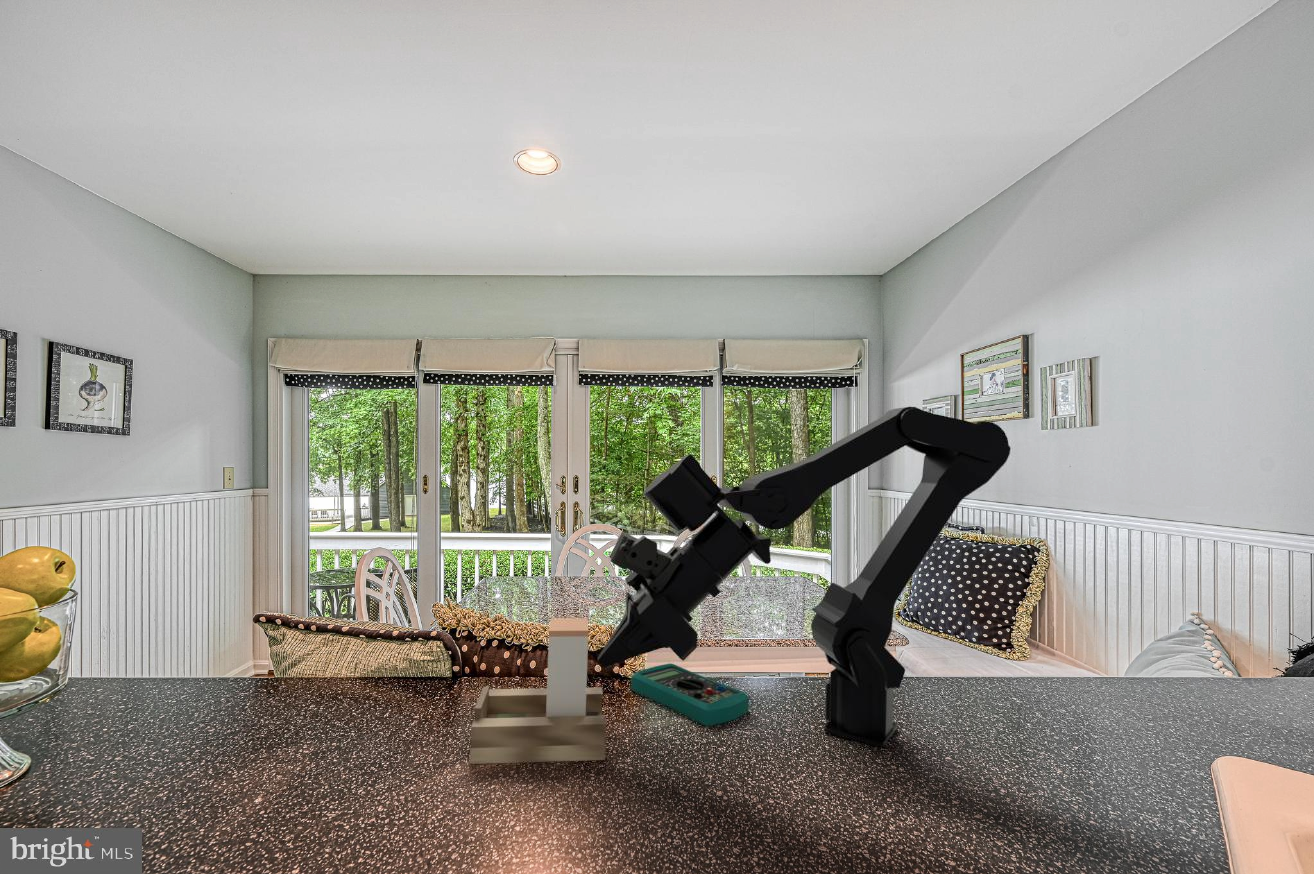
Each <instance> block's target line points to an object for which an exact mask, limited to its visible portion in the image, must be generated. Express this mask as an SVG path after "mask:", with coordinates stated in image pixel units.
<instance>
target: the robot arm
mask: <svg viewBox="0 0 1314 874" xmlns="http://www.w3.org/2000/svg"><path fill="white" fill-rule="evenodd" d="M904 447H907V448H909V449H911V450H912V451H915V452H916V453H920V454H923V455H924V458H923V464H922V465H923V466H922V474H921V475H922V477H921V479H920V482H919V484H918V486H917V487H916V488H915V489H914V492H913V493H912V495H911V496H910V498H909V499H908V500H907V502H906V503H905V505H904V506H903V508H902V509H901V511H900V513H899V514H898V515H897V517H896V519H895V520H894V522H893V524H892V525H891V526H890V527H889V530H888V531H887V533H886V534H885V535H884V537H883V539H882V540H881V541H880V543H879V544H878V546H877V547H876V549H875V551H874V552H873V554H872V555H871V557H870V558H869V560H868V561H867V562H866V564H865V565H864V567H863V569H862V571H860V573H859V575H858V576H857V577H856V579H854V580H853V581H852V582H850V583H849V584H848V585H846V586H844V587H843V586H841V585H839V584H838V583H835V582H831V584H829V586H828V587H827V590H826V591H825V594H824V596H823V598H822V599H821V601H820V602H819V603H818V604H817V605H816V606H814V607H813V608H812V612H813V613H815V615H814V616H813V619H812V621H811V625H810V629H811V633H812V634H811V635H812V639H813V640H814V643H815V644H816V646H817V647H818V648H819V649H820V650H821V651H823V652H824V655H825V658H826V661H827V664H829V665H832V666H833V667H834V668H833V670H831V671H830V674H829V675H830V679H829V682H827V683H826V684H825V697H824V699H825V700H824V701H825V706H824V707H825V708H824V709H825V711H824V712H825V713H824V718H825V721H827V723H826V724H825V725H823V731H824V732H826V733H828V734H831V735H835V736H839V737H842V738H847V739H849V740H854V741H856V742H857V741H858V742H861V743H865V744H869V745H872V746H876V747H880V748H881V747H885V746H886V744H887V743H888V741H889V740H890V739H891V737H892V736H893V734H894V733H895V732H896V731H897V730H898V723H896V722H894V689H899V688H900V687H901V684H902V681H903V678H904V676H905V673H906V669H905V667H904V666H903V665H902V664H901V663H900V661H899V660H897V659H896V657H894V656H893V654H891V652H890V651H889V650H888V649H887V648H886V645H887V643H888V640H889V638H890V636H891V634H892V629H893V622H894V613H895V612H894V611H895V605H896V602H897V600H898V599H899V598H900V596H901V594H902V593H903V591H904V590H905V589H906V586H907V585H908V583H909V582H910V581H911V579H912V577H913V575H914V574H915V573H916V571H917V570H918V569H919V566H920V565H921V563H922V562H923V561H924V559H925V557H926V555H927V554H928V553H929V551H930V549H931V548H932V546H933V545H934V543H935V542H936V541H937V538H939V536H940V534H941V532H943V529H944V527H946V525H947V523H948V522H949V520H950V519H951V518H952V515H953V514H954V513H955V511H956V510H957V507H958V506H959V504H960V503H961V502H962V501H963V500H964V499H965V498H967V496H969V495H970V494H972V493H974V492H975V491H977V490H978V489H980V488H981V487H983V486H984V485H986V484H987V483H988V482H990V480H991V479H992V478H993V477H995V475H996V474H997V473H998V471H1000V470H1001V468H1002V467H1004V466H1005V464H1006V463H1007V461H1008V459H1009V457H1010V454H1011V449H1012V448H1011V446H1010V445H1009V438H1008V437H1007V435H1006V433H1005V431H1004V430H1003V429H1002V428H1001V427H1000V425H998V424H996V423H994V422H993V421H988V420H987V421H986V420H983V421H982V420H981V421H968V420H964V419H959V418H955V417H952V416H951V417H950V416H946V415H941V414H936V413H933V412H929V411H926V410H923V409H921V408H918V407H916V406H906V407H905V406H904V407H899V408H893V409H890V410H888V411H886V412H885V413H884V414H883V415H882V416H881V417H879V418H877V419H876V420H873V421H872V422H870V423H868V424H867V425H864V426H862V427H861V428H859V429H858V430H855V431H854V432H852V433H850V434H848V435H847V436H845V437H842V438H841V439H840V440H838V441H836V442H834V443H832V444H830V445H829V446H827V447H825V448H822V449H821V450H819V451H818V452H816V453H814V454H812V455H810V456H808V457H807V458H805V459H802V460H800V461H797V462H794V463H790V464H787V465H784V466H780V467H775V468H773V469H769V470H767V471H764V472H761V473H758V474H755V475H751V476H750V477H748V478H746V479H745V480H743V482H742V483H741V484H740V485H738V486H725V485H723V486H721V487H720V486H719V485H717V483H716V482H715V481H714V480H713V479H712V478H711V477H710V476H709V475H708V473H706V471H705V470H704V469H703V468H702V466H701V464H700V463H699V461H698V460H697V459H696V458H695V457H694V455H692V454H685V455H684V456H683V457H682V458H681V459H680V460H678V461H676V463H674V464H672V466H670V467H669V468H667V470H665V471H662V472H660V473H659V475H657V476H656V477H655V478H654V479H653V481H651V482H650V484H649V485H648V486H646V488H645V489H644V491H643V493H642V495H643V496H644V497H645V498H646V499H647V500H648V501H649V503H650V504H652V505H653V506H654V507H655V508H656V510H658V512H659V513H660V515H662V517H663V518H664V519H666V521H668V523H669V524H670V525H671V526H672V527H673V528H674V529H675V531H677V532H679V531H682V530H684V529H685V528H686V529H687V530H688V531H689V532H690V533H691V532H695V531H696V530H697V529H699V528H700V527H702V526H703V525H704V526H703V527H702V528H701V529H700V530H699V531H698V532H696V533H695V534H694V535H693V537H691V538H690V539H689V540H688V541H687V542H686V543H685V544H684V545H683V546H682V547H681V548H680V547H679V546H673V547H671V548H670V549H668V550H669V551H667V552H664V551H662V550H660V549H658V543H657V542H656V541H655V540H651V539H650V538H648V537H647V536H646V535H641V536H640V537H639V538H637V537H635V536H633V535H631V534H629V533H627V532H624V531H621V533H620V535H619V537H618V539H617V541H616V543H615V544H614V547H613V548H612V551H611V553H610V554H609V558H610V562H611V563H612V564H613V565H615V566H617V567H619V568H621V569H627V570H629V571H631V572H630V573H629V574H628V576H626V577H625V578H624V580H625V583H626V584H627V585H628V586H629V587H632V589H634V591H635V592H636V593H634V594H633V595H631V594H630V593H629V592H628V591H625V613H624V615H623V617H622V619H621V621H620V622H619V624H618V626H617V627H616V629H615V630H614V631H613V633H612V635H611V636H610V638H609V639H608V640H607V642H606V644H605V646H604V648H603V649H602V651H601V652H600V653H599V655H598V657H597V663H598V664H599V665H600V666H601V667H602V668H608V667H610V666H614V665H617V664H618V663H621V662H624V661H627V660H630V659H632V658H635V657H639V656H641V655H645V654H647V653H650V652H654V651H656V650H657V651H658V650H660V649H664V648H665V649H668V648H670V650H671V651H673V653H674V654H675V655H676V656H677V657H678V658H679V659H680V660H681V661H682V662H684V661H686V659H687V658H688V657H689V656H690V655H691V654H692V653H693V652H694V651H696V649H697V648H698V632H697V631H696V629H695V627H694V626H693V625H692V624H691V621H692V620H694V618H693V617H692V615H691V613H693V612H694V611H695V610H696V609H697V608H698V607H699V605H701V604H702V603H703V602H704V601H705V600H706V599H707V598H708V597H709V596H710V595H711V597H712V598H716V597H717V596H718V595H719V594H720V593H721V592H722V591H721V590H720V589H719V588H718V587H719V586H720V585H721V584H722V583H723V582H724V581H725V580H726V579H727V578H728V577H729V576H730V575H731V574H732V573H733V572H734V571H735V570H736V569H737V568H738V567H739V566H740V565H742V563H743V562H744V561H746V559H747V558H749V556H750V555H751V554H752V556H754V558H756V559H757V560H758V561H760V562H762V563H764V564H766V565H769V564H770V563H771V561H772V560H771V559H772V558H771V543H772V540H771V538H768V537H767V536H759V535H757V533H755V531H753V529H752V528H751V527H750V526H749V524H747V522H745V520H747V521H748V522H749V523H751V524H754V525H757V526H760V527H763V528H765V529H769V530H774V531H775V530H782V529H784V528H788V527H789V526H790V525H793V523H794V522H796V520H798V519H800V517H801V516H803V515H804V514H805V513H806V512H807V511H809V510H810V509H812V507H813V505H815V503H816V502H817V501H818V500H819V498H820V497H821V496H822V495H823V494H825V492H827V491H828V490H829V489H831V488H832V487H834V486H836V485H838V484H840V483H841V482H843V481H845V480H847V479H849V478H850V477H852V476H854V475H856V474H857V473H859V472H861V471H862V470H864V469H866V468H868V467H870V466H871V465H873V464H875V463H877V462H878V461H880V460H882V459H884V458H886V457H888V456H889V455H891V454H893V453H895V452H897V451H898V450H900V449H902V448H904ZM720 506H721V507H724V508H727V509H729V510H733V511H736V512H739V513H740V514H741V516H742V517H743V518H744V519H745V520H744V519H742V518H739V519H736V520H732V519H731V518H730V517H729V515H728V514H727V513H725V511H724V510H723V509H722V508H721V507H720ZM713 514H715V515H714V516H713ZM712 516H713V517H712ZM711 517H712V518H711ZM710 518H711V519H710ZM709 519H710V520H709Z"/></svg>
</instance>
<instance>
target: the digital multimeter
mask: <svg viewBox="0 0 1314 874" xmlns="http://www.w3.org/2000/svg"><path fill="white" fill-rule="evenodd" d="M630 678H631V679H630V690H631V691H632V692H634V693H637V694H638V695H641V696H643V697H645V698H647V699H650V700H653V701H655V702H657V703H659V704H661V705H663V706H665V707H667V708H670V709H671V710H674V711H675V712H677V713H679V714H681V715H684V716H686V717H688V718H689V719H691V720H693V721H695V722H697V723H699V724H701V725H703V726H704V727H705V726H706V727H711V726H717V725H721V724H725V723H728V722H731V721H734V720H737V719H738V718H740V717H742V716H744V715H745V714H747V713H748V712H749V708H750V706H749V705H750V704H749V703H750V700H749V699H750V697H749V695H748V694H746V692H744V691H743V690H740V689H736V688H734V687H731V686H728V685H726V684H723V683H721V682H718V681H716V680H712V679H709V678H708V677H705V676H702V675H701V674H698V673H695V672H694V671H690V670H688V669H686V668H683V667H682V666H679V665H676V664H674V663H666V664H659V665H655V666H653V667H652V666H651V667H649V668H645V669H641V670H639V671H636V672H635V673H632V675H631V676H630Z"/></svg>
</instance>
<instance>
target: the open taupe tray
mask: <svg viewBox="0 0 1314 874" xmlns="http://www.w3.org/2000/svg"><path fill="white" fill-rule="evenodd" d="M546 702H547V687H546V688H543V687H541V688H495V689H494V688H493V689H492V688H490V686H483V687H482V689H481V693H480V694H479V697H478V700H477V701H476V705H475V707H474V719H473V721H472V723H471V726H470V746H469V748H470V749H469V765H478V764H479V765H483V764H511V763H512V764H516V763H545V762H572V761H573V762H574V761H575V762H577V761H579V762H581V761H583V762H584V761H585V762H586V761H606V740H607V739H606V736H607V721H606V720H607V719H606V715H603V688H602V687H601V686H600V687H597V686H596V687H586V716H571V717H546Z"/></svg>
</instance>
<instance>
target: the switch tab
mask: <svg viewBox="0 0 1314 874" xmlns="http://www.w3.org/2000/svg"><path fill="white" fill-rule="evenodd" d="M588 621H589V620H588V617H587V618H585V617H582V618H581V617H580V618H579V617H577V618H571V617H569V618H568V617H567V618H566V617H565V618H563V617H562V618H560V617H559V618H554V617H553V618H550V622H549V627H548V628H549V629H548V647H547V649H548V650H547V651H548V654H547V674H546V675H547V677H546V681H547V684H546V688H547V702H546V717H571V716H586V688H587V684H588V683H587V681H588V654H589V653H588V651H589V625H588V624H589V622H588Z"/></svg>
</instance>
